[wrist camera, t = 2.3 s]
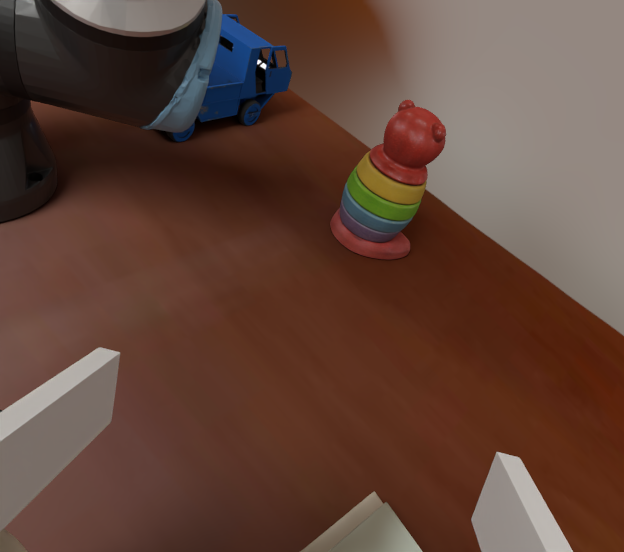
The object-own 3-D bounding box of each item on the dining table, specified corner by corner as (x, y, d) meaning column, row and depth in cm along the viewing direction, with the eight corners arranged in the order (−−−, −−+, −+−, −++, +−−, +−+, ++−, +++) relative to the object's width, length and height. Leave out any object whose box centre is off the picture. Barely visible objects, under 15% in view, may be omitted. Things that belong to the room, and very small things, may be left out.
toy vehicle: (163, 148, 59) (173, 56, 51) (106, 102, 62) (108, 9, 54) (282, 119, 76) (303, 47, 68) (233, 84, 80) (248, 12, 72)
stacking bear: (413, 255, 60) (490, 138, 48) (359, 270, 54) (432, 140, 42) (365, 205, 65) (424, 88, 53) (312, 213, 59) (365, 84, 47)
